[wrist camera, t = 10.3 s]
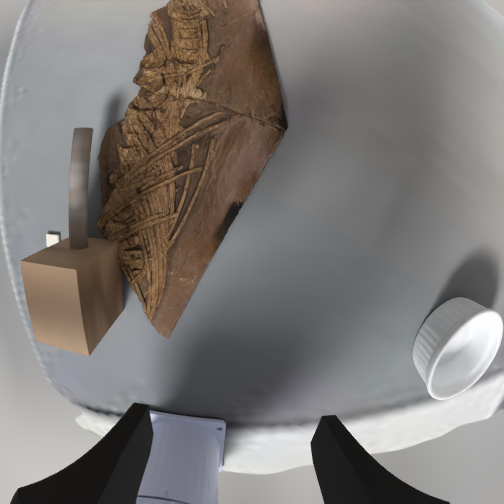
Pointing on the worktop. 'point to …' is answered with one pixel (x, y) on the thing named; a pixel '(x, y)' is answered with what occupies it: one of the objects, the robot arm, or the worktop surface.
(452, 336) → the ramekin
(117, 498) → the robot arm
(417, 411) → the worktop surface
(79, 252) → the mallet
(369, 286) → the worktop surface
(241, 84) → the wooden fragment
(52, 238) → the strip
